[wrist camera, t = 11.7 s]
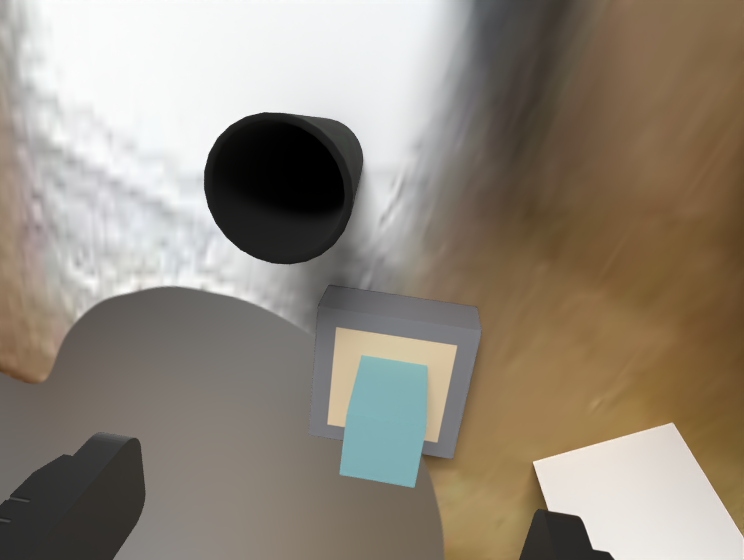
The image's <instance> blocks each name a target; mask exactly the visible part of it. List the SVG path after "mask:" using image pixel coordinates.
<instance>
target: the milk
mask: <svg viewBox="0 0 744 560" xmlns="http://www.w3.org/2000/svg"><path fill="white" fill-rule="evenodd" d="M533 464H534V467H535V470H536V474H537V477H538V480H539V483H540V486H541V489H542V492H543V495H544V498H545V501H546V504H547V507H548V510H549V511H553V512H559V513H565V514H571V515H576V516H579V517H580V518H581V519H582V521H583V523H584V525H585V528H586V531H587V534H588V536H589V539H590V542H591V545H592V548H593V549H594V550H600V551H606V552H609V553H610V554H611V555H612V557H613V558H614V559H615V560H744V538H743V536H742V534H741V533H740V531H739V530H738V528H737V526H736V525H735V523H734V521H733V520H732V518H731V517H730V515H729V513H728V512H727V510H726V508H725V507H724V505H723V503H722V502H721V500H720V499H719V497H718V495H717V494H716V492H715V490H714V489H713V487H712V486H711V484H710V482H709V481H708V479H707V477H706V476H705V474H704V473H703V471H702V469H701V468H700V466H699V464H698V463H697V461H696V459H695V458H694V456H693V455H692V453H691V451H690V450H689V448H688V446H687V445H686V443H685V442H684V440H683V438H682V437H681V435H680V433H679V432H678V430H677V429H676V427H675V425H674V424H673V423H670V424H666V425H662V426H659V427H655V428H652V429H648V430H645V431H641V432H637V433H634V434H630V435H627V436H623V437H620V438H616V439H612V440H609V441H605V442H602V443H598V444H595V445H591V446H588V447H584V448H580V449H577V450H573V451H570V452H566V453H563V454H559V455H555V456H552V457H548V458H545V459H541V460H538V461H534V462H533Z"/></svg>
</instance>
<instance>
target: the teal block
mask: <svg viewBox="0 0 744 560" xmlns="http://www.w3.org/2000/svg"><path fill="white" fill-rule="evenodd" d="M426 424H427V365H421V364H414V363H408V362H402V361H396V360H390V359H383V358H377V357H371V356H365V355H361V359H360V363H359V367H358V371H357V375H356V379H355V383H354V387H353V390H352V394H351V398H350V402H349V406H348V410H347V414H346V423H345V431H344V440H343V448H342V457H341V466H340V475H345V476H351V477H356V478H363V479H368V480H374V481H379V482H385V483H390V484H396V485H402V486H407V487H413V488H414V487H415V482H416V476H417V472H418V467H419V461H420V457H421V452H422V447H423V442H424V437H425V432H426Z"/></svg>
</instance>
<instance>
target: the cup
mask: <svg viewBox="0 0 744 560" xmlns="http://www.w3.org/2000/svg"><path fill="white" fill-rule="evenodd" d="M362 164H363V154H362V149H361V146H360V143H359V141H358V139H357V138H356V136H355V134H354V133H353V132H352V131H351V130H350V129H349V128H348V127H347V126H345V125H344V124H342V123H340V122H338V121H335V120H332V119H327V118H319V117H311V116H303V115H295V114H287V113H268V112H264V113H259V114H255V115H251V116H246V117H244V118H243V119H241V120H239V121H237V122H235V123H234V124H232V125H230V126H229V127H228V128H227V129H226V130H225V131H224V132H223V133H222V134H221V135H220V136H219V137H218V138H217V140H216V142H215V144H214V145H213V147H212V149H211V151H210V152H209V155H208V159H207V163H206V167H205V170H204V190H205V195H206V199H207V204H208V207H209V210H210V212H211V214H212V216H213V218H214V220H215V222H216V224H217V225H218V227H219V228H220V229H221V231H222V232H223V233H224V235H225V236H226V237H227V238H228V239H229V240H230V241H231V242H232V243H233V244H235V245H236V246H237V247H238V248H239V249H240V250H242V251H244V252H246V253H247V254H249V255H251V256H253V257H255V258H257V259H260V260H263V261H267V262H270V263H276V264H295V263H301V262H306V261H308V260H311V259H313V258H315V257H318V256H320V255H322V254H323V253H324V252H325V251H327V250H328V249H329V248H330V247H332V246H333V245H334V244H335V243H336V241H337V240H338V239H339V237H340V236H341V235H342V233H343V232H344V230H345V228H346V225H347V223H348V220H349V218H350V215H351V212H352V208H353V204H354V199H355V195H356V191H357V187H358V183H359V179H360V175H361V170H362Z"/></svg>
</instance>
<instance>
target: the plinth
mask: <svg viewBox="0 0 744 560" xmlns="http://www.w3.org/2000/svg"><path fill="white" fill-rule="evenodd" d="M481 332H482V330H481V325H480V320H479V315H478V310H477V307H474V306H467V305H461V304H454V303H447V302H440V301H434V300H427V299H420V298H413V297H407V296H400V295H393V294H386V293H379V292H373V291H366V290H359V289H352V288H346V287H339V286H332V285H328V287H327V289H326V291H325V293H324V295H323V297H322V299H321V301H320V303H319V305H318V313H317V327H316V340H315V354H314V355H315V356H314V369H313V382H312V395H311V409H310V424H309V435H312V436H318V437H324V438H330V439H336V440H342V441H343V440H344V431H345V423H346V414H347V410H348V406H349V402H350V398H351V394H352V390H353V387H354V383H355V379H356V375H357V371H358V367H359V363H360V359H361V355H365V356H371V357H377V358H383V359H390V360H396V361H402V362H408V363H414V364H421V365H427V424H426V432H425V437H424V442H423V447H422V452H421V454H425V455H431V456H437V457H443V458H449V459H453V455H454V451H455V446H456V442H457V438H458V433H459V429H460V424H461V420H462V416H463V411H464V407H465V402H466V398H467V394H468V389H469V385H470V380H471V376H472V372H473V367H474V363H475V358H476V354H477V350H478V345H479V341H480V336H481Z"/></svg>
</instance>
